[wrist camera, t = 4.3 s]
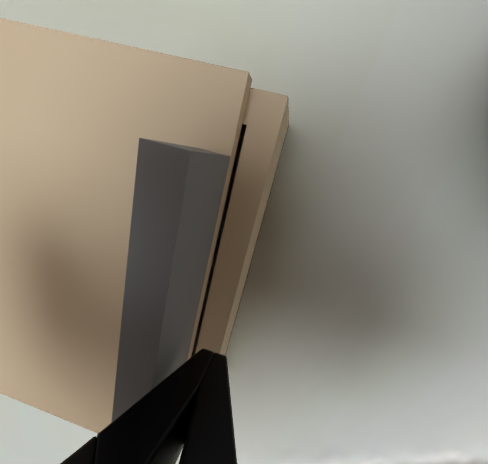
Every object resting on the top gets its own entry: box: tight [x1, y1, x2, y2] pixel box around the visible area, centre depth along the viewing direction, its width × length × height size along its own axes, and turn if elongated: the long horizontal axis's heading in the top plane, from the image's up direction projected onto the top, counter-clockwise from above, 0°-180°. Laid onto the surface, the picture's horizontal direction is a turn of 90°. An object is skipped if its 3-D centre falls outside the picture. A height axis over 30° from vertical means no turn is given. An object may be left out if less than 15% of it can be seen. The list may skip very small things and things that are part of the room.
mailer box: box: [191, 88, 289, 357], centre depth 12 cm, size 14×16×5 cm
